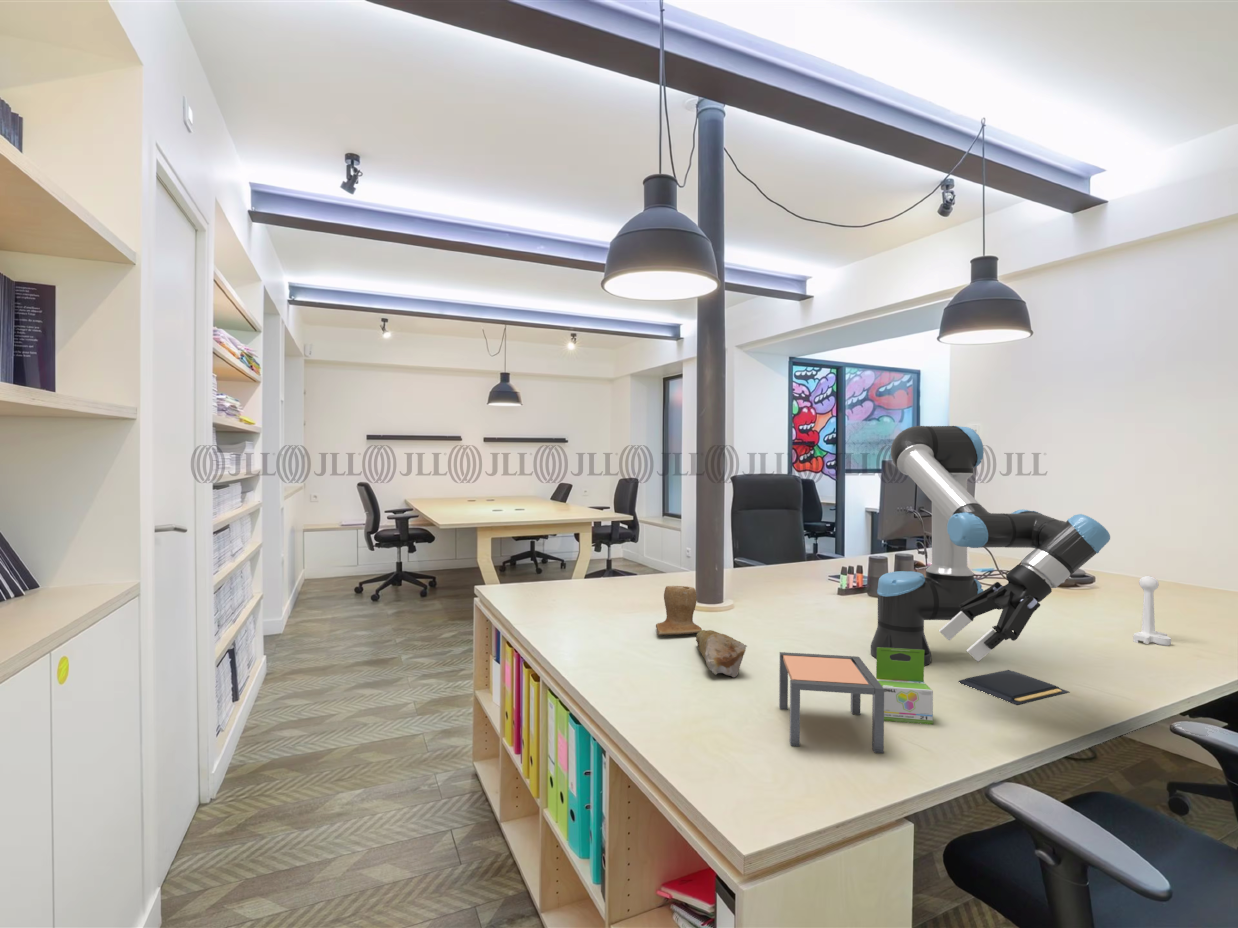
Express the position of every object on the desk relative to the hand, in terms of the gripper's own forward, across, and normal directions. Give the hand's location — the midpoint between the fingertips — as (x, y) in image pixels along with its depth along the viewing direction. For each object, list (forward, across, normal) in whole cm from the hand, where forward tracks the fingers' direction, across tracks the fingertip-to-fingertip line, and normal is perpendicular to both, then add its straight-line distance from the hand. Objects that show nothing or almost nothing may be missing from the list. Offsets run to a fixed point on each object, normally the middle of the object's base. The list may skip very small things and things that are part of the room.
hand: (956, 645), depth 120 cm
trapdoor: (+23, -8, +17) cm, 30 cm away
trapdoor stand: (+31, -8, +9) cm, 34 cm away
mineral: (+47, +28, +24) cm, 59 cm away
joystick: (-48, +68, -70) cm, 109 cm away
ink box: (+19, 0, -4) cm, 19 cm away
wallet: (-3, +22, -27) cm, 35 cm away
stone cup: (+55, +52, +32) cm, 82 cm away
